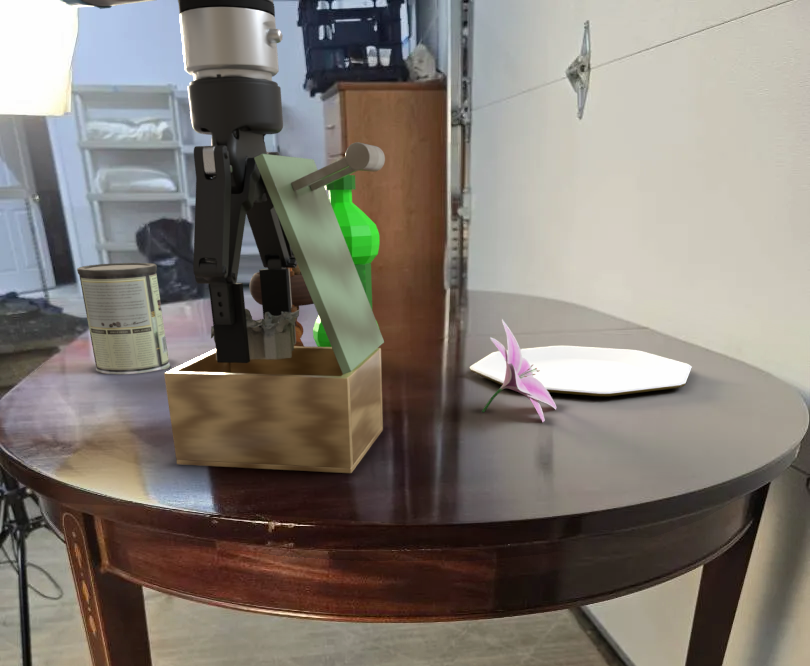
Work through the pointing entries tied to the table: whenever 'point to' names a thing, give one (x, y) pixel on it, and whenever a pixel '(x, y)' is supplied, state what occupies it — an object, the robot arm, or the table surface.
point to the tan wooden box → (276, 411)
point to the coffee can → (124, 317)
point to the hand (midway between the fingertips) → (258, 349)
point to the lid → (325, 246)
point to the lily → (521, 375)
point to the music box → (297, 295)
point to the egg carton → (270, 335)
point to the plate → (592, 370)
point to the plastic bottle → (351, 240)
